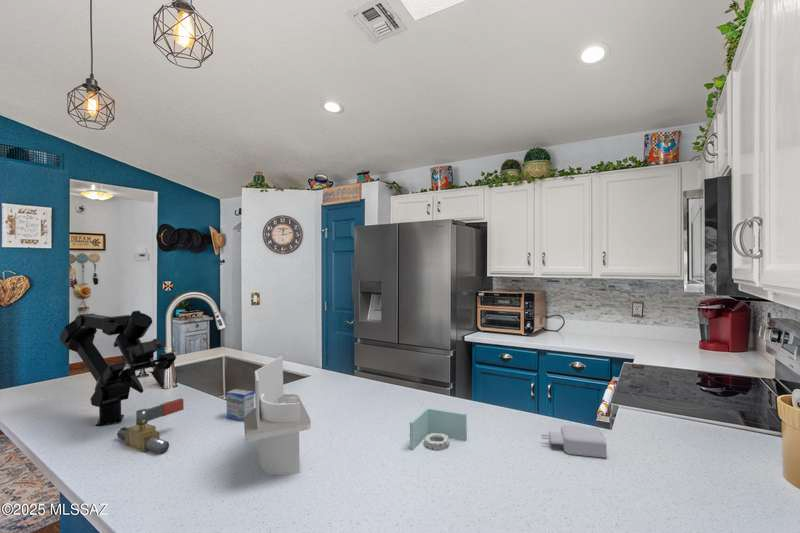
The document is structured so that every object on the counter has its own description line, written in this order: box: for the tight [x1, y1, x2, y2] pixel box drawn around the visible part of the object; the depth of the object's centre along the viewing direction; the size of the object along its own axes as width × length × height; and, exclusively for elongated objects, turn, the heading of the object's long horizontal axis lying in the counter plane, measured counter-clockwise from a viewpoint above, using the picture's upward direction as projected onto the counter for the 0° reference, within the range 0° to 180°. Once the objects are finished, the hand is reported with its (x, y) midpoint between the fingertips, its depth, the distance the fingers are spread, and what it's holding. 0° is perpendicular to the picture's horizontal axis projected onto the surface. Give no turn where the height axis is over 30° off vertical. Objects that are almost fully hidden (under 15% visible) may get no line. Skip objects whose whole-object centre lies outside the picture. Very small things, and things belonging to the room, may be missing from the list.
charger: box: [541, 424, 608, 459], centre depth 105 cm, size 5×9×15 cm
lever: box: [135, 398, 185, 425], centre depth 114 cm, size 3×13×4 cm, turn 151°
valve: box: [116, 423, 170, 455], centre depth 110 cm, size 20×4×6 cm, turn 61°
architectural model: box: [243, 355, 312, 476], centre depth 102 cm, size 28×21×23 cm
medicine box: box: [226, 388, 255, 422], centre depth 129 cm, size 8×4×9 cm, turn 68°
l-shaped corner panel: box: [409, 407, 468, 451], centre depth 108 cm, size 12×12×8 cm
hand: (152, 389), depth 117 cm, fingers open, 6 cm apart
